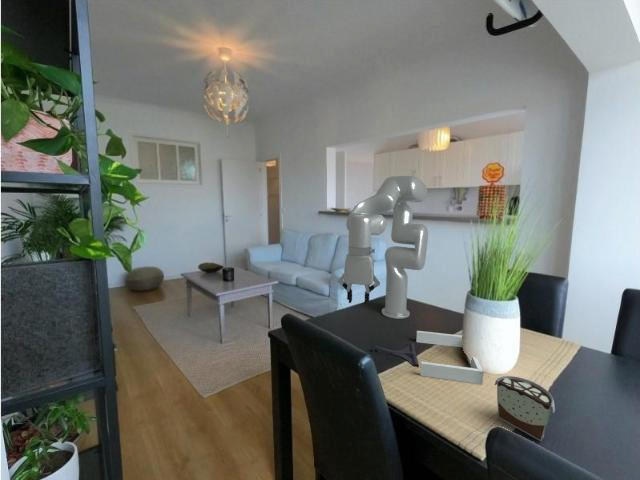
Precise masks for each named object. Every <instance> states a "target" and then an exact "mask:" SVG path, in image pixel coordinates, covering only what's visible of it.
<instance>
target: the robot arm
mask: <svg viewBox="0 0 640 480" xmlns="http://www.w3.org/2000/svg"><path fill="white" fill-rule="evenodd" d="M427 195H428V188H427V185H426V183H425V182H424V181H423V180H422V179H419V178H418V177H417V176H414V175H393V176H390V177H387V178H386V179H384V181H383V183H382V184H381V185H380V187H379V188H378V190H377V192H376V193H375V194H373V195H372V196H370V197H368V198H366V199H364V200H362V201H360V202H359V203H357V204H356V205H354V207H353V209H351V211H350V212H349V215H348V216H347V218H346V224H345V225H346V229H347V230H348V245H347V246H348V250H347V251H348V252H347V253H346V255H345V261H344V269H343V274H342V275H341V276H340V277H339V279H337V282H338V283H339V284H340V285H341V286H342V287H343V288H344V289H345V291H346V294H347V295H346V296H347V297H346V300H347V301H348V304H351V303H352V301H353V290H352V286H353V285H359V286H361V285H362V286H364V289H365V292H364V305H367V304H368V302H370V293H371V292H372V291H373V290H374V289H375V288H377V287H379V286H380V284H381V282H380V281H379V279H378V278H377V276H376V275H375V266H374V265H375V264H374V256H373V255H372V254H375V253H376V249H375V248H373V247H372V246H371V245H372V236H380V235H381V234H383V233H384V232H385V231H386V229H387V220H386V218H385V217H384V216H383V215H382V214H384V213H386V212H389V211H391V210H392V211H393V216H392V223H391V224H392V225H391V233H390V237H391V241H392V242H393V243H395V244H402V245H410V246H414V247H407V246H398V245H397V246H396V245H394V246H390V247H388V248H387V249H386V250H385V253H384V261H385V267H386V268H385V269H386V277H385V278H386V279H385V300H384V301H385V302H384V303H385V306H384V307H383V308H382V309H381V314H382V315H383V316H385V317H387V318H389V319H390V318H391V319H397V320H399V319H400V320H401V319H406V318H409V317H410V311H409V310H408V309H407V301H408V283H409V281H408V280H409V279H408V275H407V272H406V271H405V269H406V270H413V271H421V270H422V269H423V268H424V267H425V264H426V258H427V257H426V256H427V249H428V248H427V247H428V241H429V230H428V228H427V226H426V225H425V224H422V223H413V216H414V212H413V210H412V208H411V206H410V205H409V204H408V203H422V202H424V201H425V200H426V198H427ZM373 282H374V283H373Z"/></svg>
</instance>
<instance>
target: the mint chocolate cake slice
mask: <svg viewBox="0 0 640 480" xmlns="http://www.w3.org/2000/svg"><path fill="white" fill-rule="evenodd" d="M494 386H496V390H497V391H496V392H497V393H496V394H497V395H496V398H497V404H496V405H497V418H498V419H500V420H502V421H504V422H505V423H507V424H509V425H511V426H512V427H515V428H516V429H518V430H520V431H521V432H523V433H525V434H526V435H528V436H530V437H531V438H534V439H536V440H537V441H539V442H541V443H542V442H543V441H544V437H545V433H546V430H547V425H548V422H549V418H550V415H551V411H552V414H554V413H555V411H556V408H555V407H556V406H555V400H554V397H553V396H552V394H551V393H550V392H549V391H548V390H547V389H546V388H545V387H543V386H542V385H540V384H538V383H536V382H534V381H531V380H530V379H526V378H523V377H520V376H511V375H502V376H499V377H497V378H496V380H495V383H494Z"/></svg>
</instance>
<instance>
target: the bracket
mask: <svg viewBox="0 0 640 480" xmlns="http://www.w3.org/2000/svg"><path fill="white" fill-rule="evenodd" d="M371 350H372V353H377V354H386V355H388V354H389V355H393V356H397V357H400V358H401V359H403V360H405V361H407V362H408V363H410V365H411V366H413V367H415V365H416V366H417V368H419V367H420V364H419V360H418V357H417V351H416V348H415V344H414V343H413V342H409V344H408V345H407V346H406V347H404V348H402V349H398V350H397V349H396V350H395V349H394V350H393V349H388V348H385V347H382V346H379V345H374V346H373V347H372V349H371Z"/></svg>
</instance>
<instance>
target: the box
mask: <svg viewBox="0 0 640 480" xmlns="http://www.w3.org/2000/svg"><path fill="white" fill-rule="evenodd" d="M462 336H463V335H459V334H450V333H442V332H432V331H423V330H416V343H420V344H421V343H422V344H429V345H430V344H431V345H438V346H445V347H455V348H462V349H463V345H462ZM467 361H468V364H469V366H470V367H465V366H458V365H451V364H443V363H435V362H430V361H429V362H428V361H422V360H421V361H420V373H419V374H420V375H419V376H421V377H422V376H423V377H427V378H436V379H441V380H449V381H455V382H463V383H469V384H470V383H471V384H475V385H476V384H477V385H483V381H484V370H483V368H482V366H481V364H480V361H479V360H478V357H477V358H475V357H473V356H472V360H471V363H470V360H468V359H467Z"/></svg>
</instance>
